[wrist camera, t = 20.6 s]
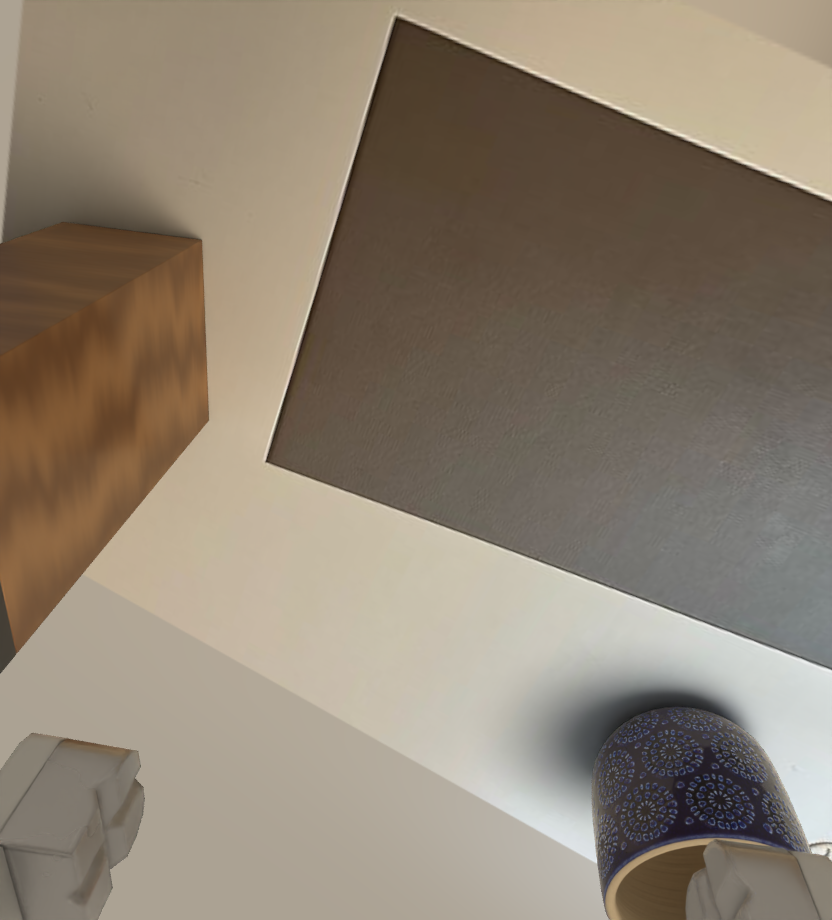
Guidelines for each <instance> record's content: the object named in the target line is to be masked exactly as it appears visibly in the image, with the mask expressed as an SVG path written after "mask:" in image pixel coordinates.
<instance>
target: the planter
mask: <svg viewBox="0 0 832 920" xmlns="http://www.w3.org/2000/svg"><path fill="white" fill-rule="evenodd" d="M592 817H593V827H594V837H595V847H596V856H597V863H598V870H599V878H600V884H601V892H602V896H603V902H604V907H605V911H606V914H607V916H608V918H609V919H610V920H686V909H685V908H686V897H687V888H688V886H689V883H690V881H691V878H692V876H693V873H695V872H697V871H699V870H701V869H703V868H705V867H706V864H705V860H704V856H703V853H704V851H705V849H706V847H707V845H708V843H709V842H711V841H713V840H714V839H719V840H726V841H734V842H741V843H748V844H755V845H763V846H770V847H777V848H784V849H786V850H788V851H796V852H804V853H811V854H812V852H811V849H810V847H809V844H808V842H807V839H806V836H805V834H804V831H803V829H802V826H801V824H800V822H799V819H798V817H797V815H796V812H795V810H794V808H793V805H792V803H791V801H790V798H789V796H788V794H787V792H786V790H785V788H784V786H783V784H782V781H781V779H780V777H779V775H778V773H777V772H776V770H775V768H774V766H773V764H772V762H771V761H770V759H769V757H768V756H767V754H766V753H765V751H764V750H763V749H762V747H761V746H760V745H759V743H758V742H757V741H756V740H755V739H754V738H753V737H752V736H751V735H750V734H748V733H747V732H746V731H745V730H743V729H742V728H741V727H739V726H738V725H736V724H735V723H733V722H731V721H729V720H728V719H726V718H724V717H722V716H720V715H717V714H714V713H711V712H708V711H705V710H701V709H696V708H689V707H667V708H660V709H655V710H651V711H647V712H645V713H642V714H639V715H637V716H635V717H633V718H631V719H630V720H628V721H626V722H625V723H624V724H622V725H621V726H620V727H618V728H617V729H616V730H615V731H614V732H613V733H612V734H611V735H610V736H609V738H608V739H607V740H606V741H605V743H604V744H603V746H602V748H601V750H600V752H599V754H598V756H597V758H596V760H595V763H594V768H593V774H592Z"/></svg>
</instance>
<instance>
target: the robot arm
mask: <svg viewBox="0 0 832 920" xmlns="http://www.w3.org/2000/svg"><path fill="white" fill-rule="evenodd" d="M140 767H141V765H140V759H139V753H138V751H136V750H130V749H124V748H119V747H113V746H107V745H101V744H96V743H90V742H84V741H77V740H73V739H68V738H62V737H56V736H50V735H43V734H36V733H31V734H30V735H29V736H28V737H26V738H25V739H24V740H23V741H21V742H20V743H19V745H18V746H17V747H16V749H15V750H14V752H13V753H12V754H11V756H10V757H9V759H8V760H7V761H6V763H5V765H4V766H3V767H2V768H1V770H0V920H98V918H99V916H100V914H101V911H102V909H103V907H104V905H105V903H106V901H107V899H108V897H109V895H110V892H111V890H112V888H113V887H112V881H111V874H110V869H112V868H113V867H114V866H116V865H117V864H118V863H119V862H121V861H122V860H123V859H125V858H126V857H127V856H128V854H129V852H130V850H131V848H132V845H133V843H134V841H135V839H136V836H137V833H138V830H139V826H140V823H141V819H142V816H143V809H144V799H145V798H144V789H143V786H142V785H141V784H140V783H139V782H138V781H137V780H136V779H135V777H136V775H137V773H138V771H139V769H140ZM703 856H704V860H705V864H706V867H705V868H703V869H701V870H699V871H697V872H695V873H693V876H692V878H691V881H690V883H689V886H688V888H687V897H686V908H685V909H686V920H832V861H831V860H830V859H829V858H828V857H826V856H823V855H819V854H811V853H804V852H796V851H788V850H786V849H784V848H777V847H770V846H763V845H755V844H748V843H741V842H734V841H726V840H719V839H714V840H713V841H711V842H709V843H708V845H707V847H706V849H705V851H704V853H703Z"/></svg>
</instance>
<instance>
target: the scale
mask: <svg viewBox="0 0 832 920" xmlns="http://www.w3.org/2000/svg"><path fill="white" fill-rule="evenodd" d="M15 655H16V650H15V646H14V641H13V637H12V632H11V627H10V623H9V618H8V614H7V609H6V605H5V600H4V595H3V591H2V586H1V582H0V673H1V672H2V671H3V670H4V669H5V667H6V666H7V665H8V664H9V663H10V661H11V660H12V659H13V658H14V656H15Z"/></svg>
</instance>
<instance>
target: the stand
mask: <svg viewBox="0 0 832 920" xmlns="http://www.w3.org/2000/svg"><path fill="white" fill-rule="evenodd" d="M208 421H209V413H208V386H207V360H206V334H205V308H204V281H203V255H202V240H198V239H190V238H182V237H174V236H167V235H159V234H151V233H144V232H136V231H128V230H121V229H113V228H105V227H97V226H90V225H82V224H74V223H67V222H61V223H59V224H56V225H53V226H50V227H47V228H44V229H41V230H39V231H36V232H33V233H30V234H27V235H24V236H21V237H19V238H16V239H13V240H10V241H7V242H4V243H1V244H0V582H1V586H2V591H3V595H4V600H5V605H6V609H7V614H8V618H9V623H10V627H11V632H12V637H13V641H14V646H15V650H16V653H17V652H19V650H20V649H21V648H22V646H24V644H25V643H26V642H27V641H28V639H29V638H30V637H31V636H32V634H33V633H34V632H35V631H36V630H37V629H38V627H39V626H40V625H41V623H42V622H43V621H44V620H45V619H46V618H47V616H48V615H49V614H50V613H51V612H52V610H53V609H54V608H55V607H56V605H57V604H58V603H59V602H60V601H61V599H62V598H63V597H64V596H65V594H66V593H67V592H68V591H69V590H70V588H71V587H72V586H73V585H74V583H75V582H76V581H77V580H78V579H79V577H80V576H81V575H82V574H83V573H84V571H85V570H86V569H87V568H88V567H89V565H90V564H91V563H92V562H93V560H94V559H95V558H96V557H97V556H98V554H99V553H100V552H101V551H102V550H103V548H104V547H105V546H106V545H107V543H108V542H109V541H110V540H111V539H112V537H113V536H114V535H115V534H116V533H117V531H118V530H119V529H120V528H121V526H122V525H123V524H124V523H125V522H126V520H127V519H128V518H129V517H130V516H131V514H132V513H133V512H134V511H135V509H136V508H137V507H138V506H139V505H140V503H141V502H142V501H143V500H144V499H145V497H146V496H147V495H148V494H149V492H150V491H151V490H152V489H153V488H154V486H155V485H156V484H157V483H158V482H159V480H160V479H161V478H162V477H163V475H164V474H165V473H166V472H167V471H168V469H169V468H170V467H171V466H172V465H173V463H174V462H175V461H176V460H177V458H178V457H179V456H180V455H181V454H182V452H183V451H184V450H185V449H186V448H187V446H188V445H189V444H190V443H191V441H192V440H193V439H194V438H195V437H196V435H197V434H198V433H199V432H200V431H201V429H202V428H203V427H204V426H205V424H206V423H207V422H208Z"/></svg>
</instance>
